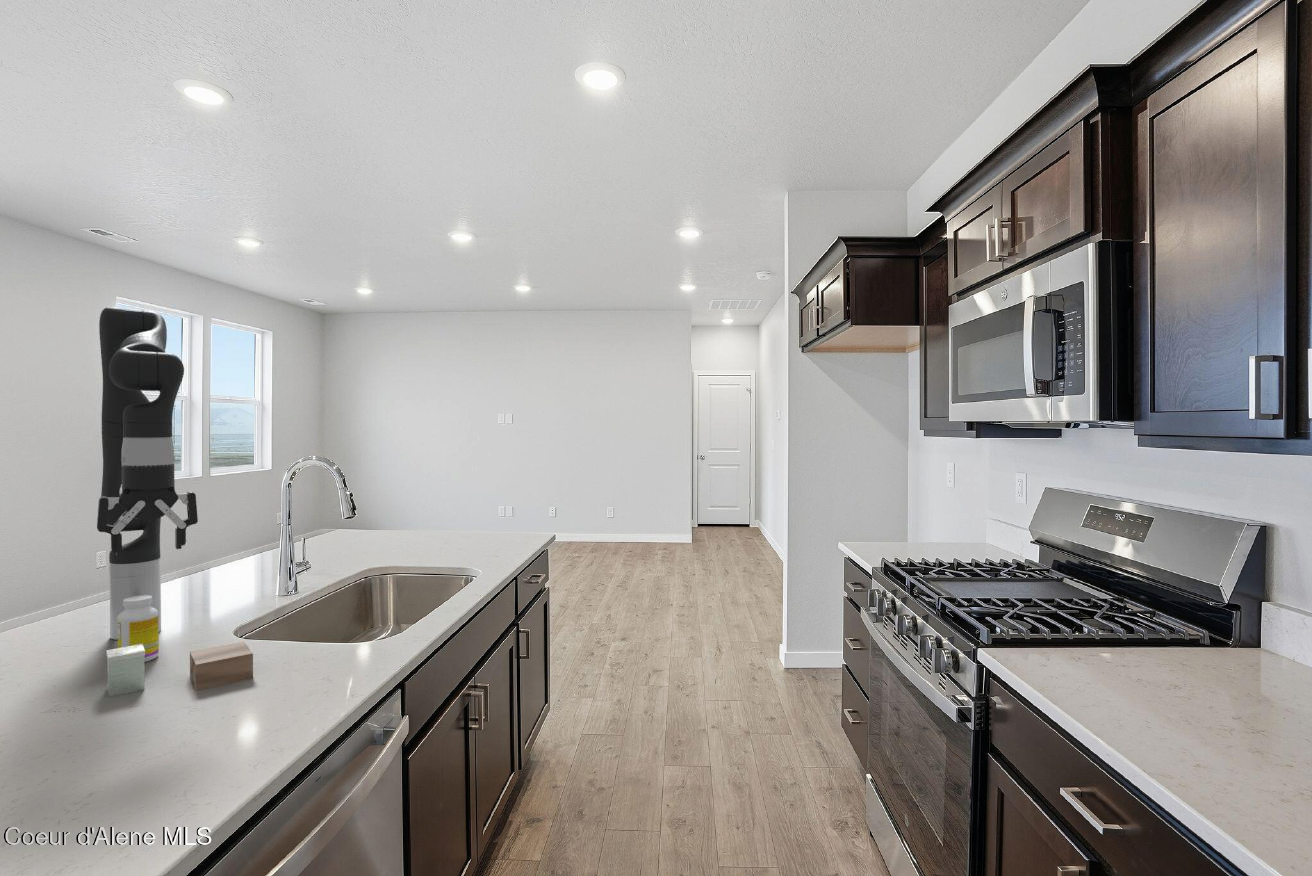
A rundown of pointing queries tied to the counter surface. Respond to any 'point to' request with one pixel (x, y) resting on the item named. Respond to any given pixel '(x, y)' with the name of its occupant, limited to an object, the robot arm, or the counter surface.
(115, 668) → the tea tin
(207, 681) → the walnut block
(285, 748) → the counter surface
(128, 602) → the supplement bottle
